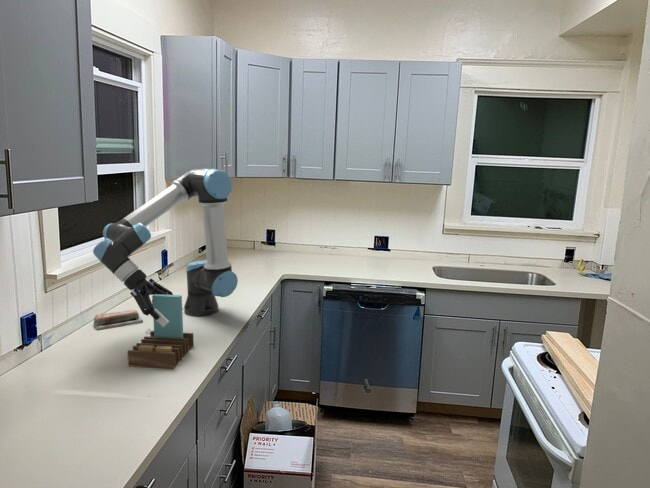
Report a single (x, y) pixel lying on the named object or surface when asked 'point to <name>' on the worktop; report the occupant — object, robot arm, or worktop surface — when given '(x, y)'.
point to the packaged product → (117, 319)
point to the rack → (160, 358)
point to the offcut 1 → (146, 348)
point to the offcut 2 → (163, 349)
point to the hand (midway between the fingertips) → (174, 317)
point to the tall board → (169, 315)
